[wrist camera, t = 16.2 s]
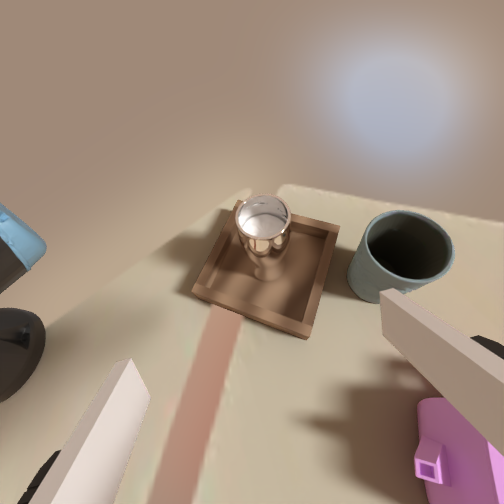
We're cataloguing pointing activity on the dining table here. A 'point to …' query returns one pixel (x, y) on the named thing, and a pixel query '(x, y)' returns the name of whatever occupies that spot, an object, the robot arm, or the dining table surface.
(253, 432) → the dining table surface
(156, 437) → the dining table surface
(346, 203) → the dining table surface
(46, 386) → the dining table surface
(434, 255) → the grey green cup
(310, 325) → the tray
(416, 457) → the teakettle
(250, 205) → the beer glass
